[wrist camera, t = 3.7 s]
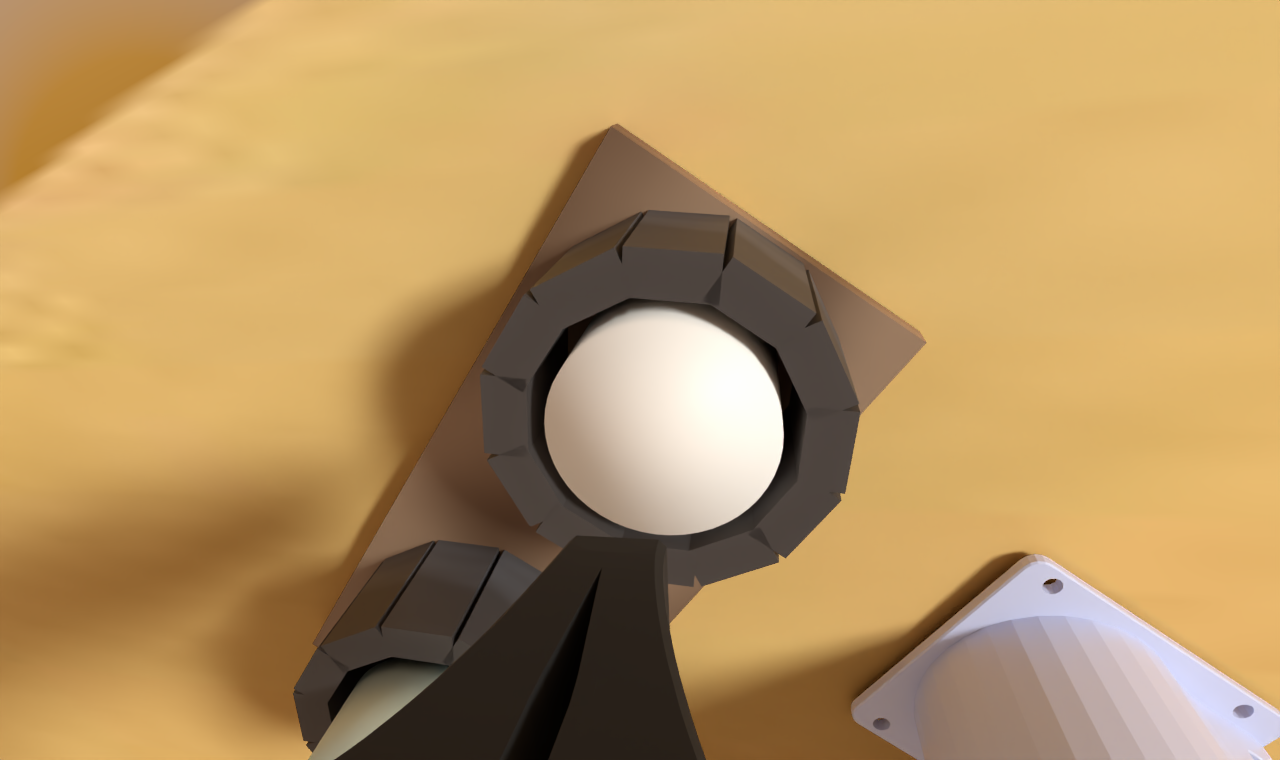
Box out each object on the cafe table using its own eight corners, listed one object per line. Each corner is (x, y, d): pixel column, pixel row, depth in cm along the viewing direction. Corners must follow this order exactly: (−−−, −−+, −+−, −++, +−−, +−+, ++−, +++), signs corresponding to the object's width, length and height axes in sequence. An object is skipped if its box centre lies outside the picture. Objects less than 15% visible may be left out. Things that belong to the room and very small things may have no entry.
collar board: (919, 331, 18) (968, 410, 14) (541, 750, 26) (502, 877, 22) (617, 123, 17) (573, 141, 13) (325, 627, 25) (242, 736, 21)
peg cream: (820, 349, 17) (835, 413, 14) (703, 488, 19) (693, 572, 16) (647, 233, 17) (623, 271, 13) (546, 389, 19) (504, 455, 15)
